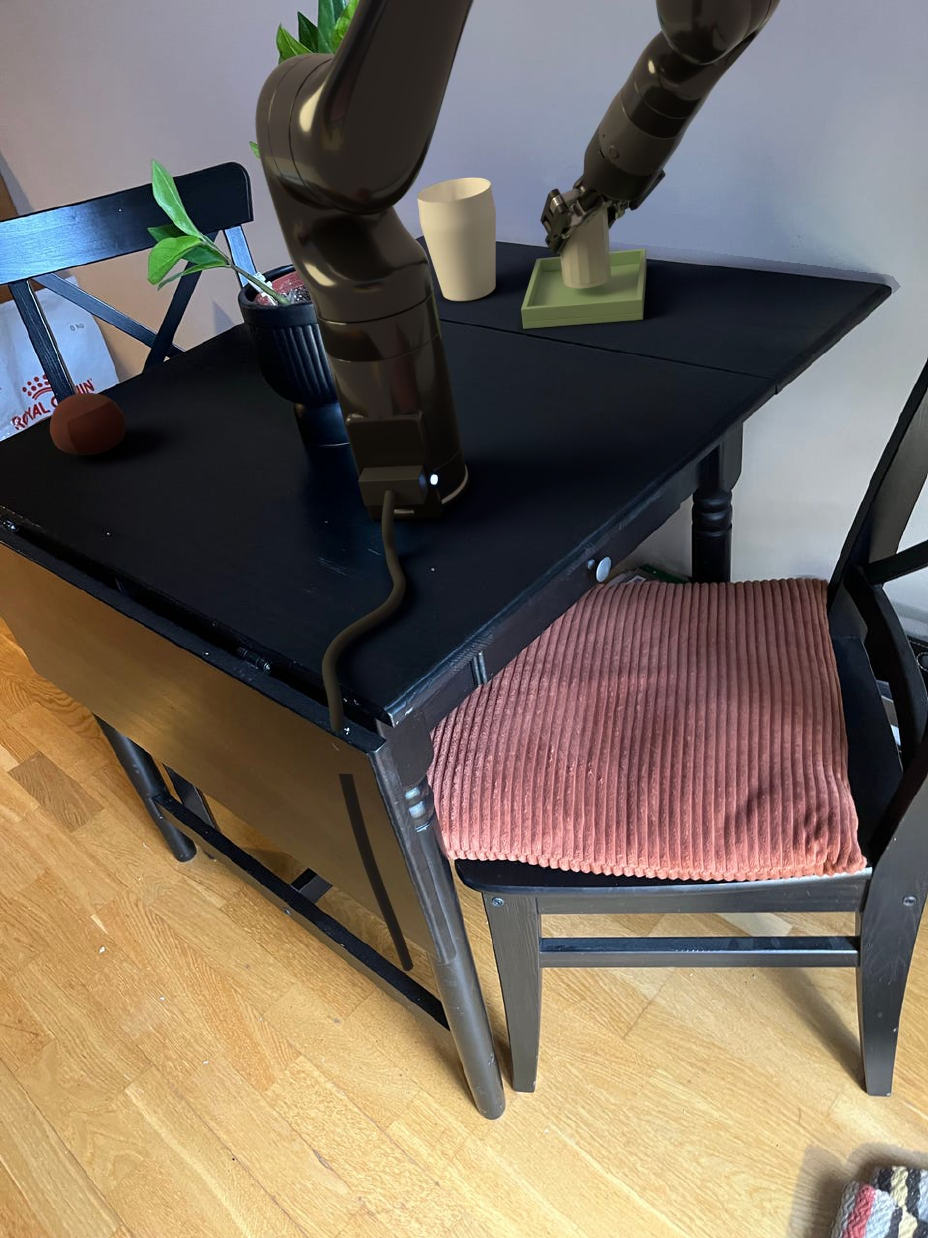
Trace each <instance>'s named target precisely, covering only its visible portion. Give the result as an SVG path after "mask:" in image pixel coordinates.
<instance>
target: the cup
mask: <svg viewBox="0 0 928 1238" xmlns="http://www.w3.org/2000/svg"><path fill="white" fill-rule="evenodd" d="M493 195H494V194H493V189H492V183H491V182H490V180H488V179H486V178H482V177H461V178H453V179H449V180H444V181H440V182H437V183H434V184H431V185H429V186H426V187H425V188H423V189H422V190H420V191H419V192H418V193H417V195H416V199H417V205H418V214H419V223H420V227H421V231H422V235H423V237H424V240H425V243H426V246H427V249H428V252H429V255H430V259H431V262H432V265H433V268H434V271H435V274H436V277H437V281H438V284H439V287H440V291H441V293H442V296H443V297H444V298H445V299H447V300H449V301H452V302H469V301H474V300H478V299H481V298H484V297H486V296H487V295H489V294H491V293H492V292H493V291H494V290H495V289H496V273H497V272H496V263H497V261H496V259H497V258H496V255H497V251H496V250H497V249H496V248H497V247H496V245H497V243H496V241H497V239H496V238H497V235H496V234H497V233H496V232H497V231H496V228H497V227H496V226H497V215H496V214H497V212H496V211H497V210H496V204H495V200H494V196H493Z"/></svg>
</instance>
